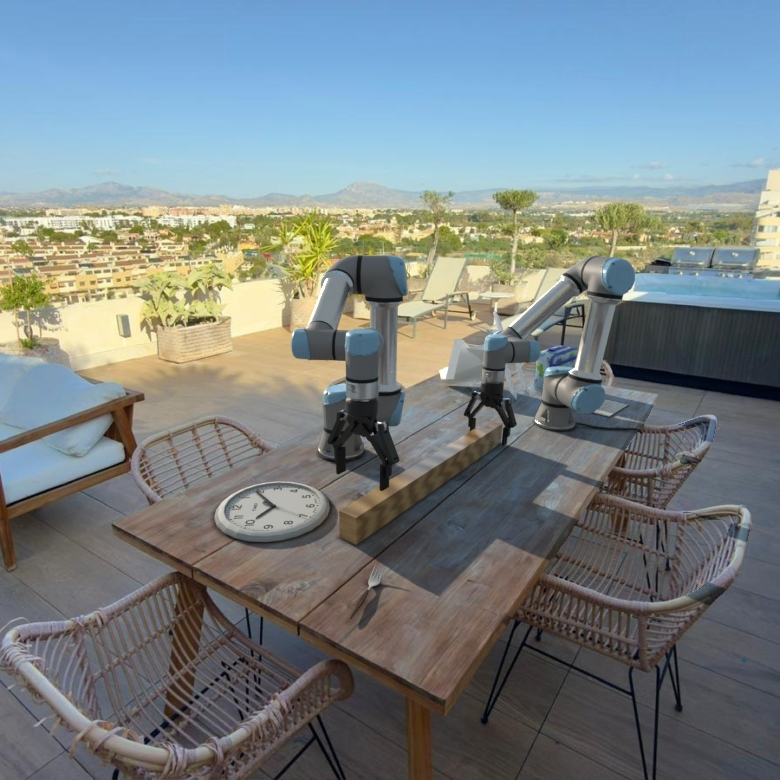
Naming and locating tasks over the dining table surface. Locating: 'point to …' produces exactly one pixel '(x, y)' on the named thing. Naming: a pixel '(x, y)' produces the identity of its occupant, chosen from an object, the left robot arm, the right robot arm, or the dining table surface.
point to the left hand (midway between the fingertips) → (362, 480)
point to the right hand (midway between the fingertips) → (487, 440)
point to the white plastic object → (475, 365)
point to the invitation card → (610, 408)
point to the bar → (415, 483)
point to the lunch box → (553, 362)
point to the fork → (372, 582)
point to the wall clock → (272, 511)
